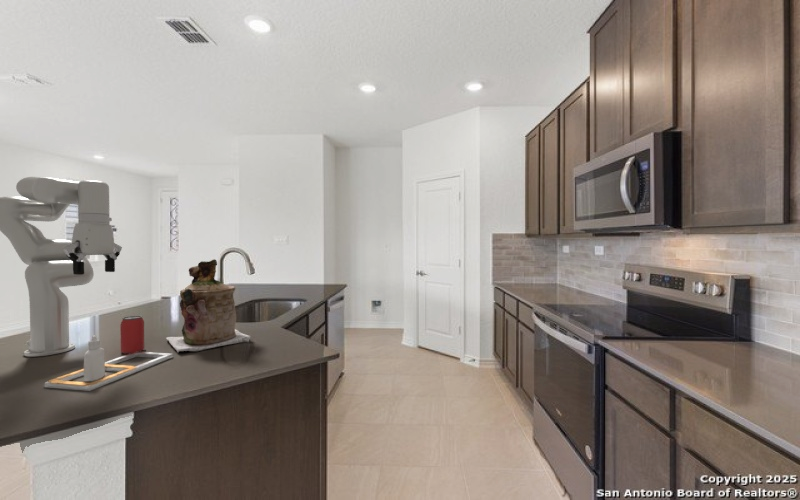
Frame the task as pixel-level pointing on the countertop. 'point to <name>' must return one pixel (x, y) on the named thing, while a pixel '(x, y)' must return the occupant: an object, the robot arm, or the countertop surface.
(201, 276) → the cookie jar
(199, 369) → the countertop surface
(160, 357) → the rail
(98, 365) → the eye dropper bottle
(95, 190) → the robot arm
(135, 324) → the beer can
